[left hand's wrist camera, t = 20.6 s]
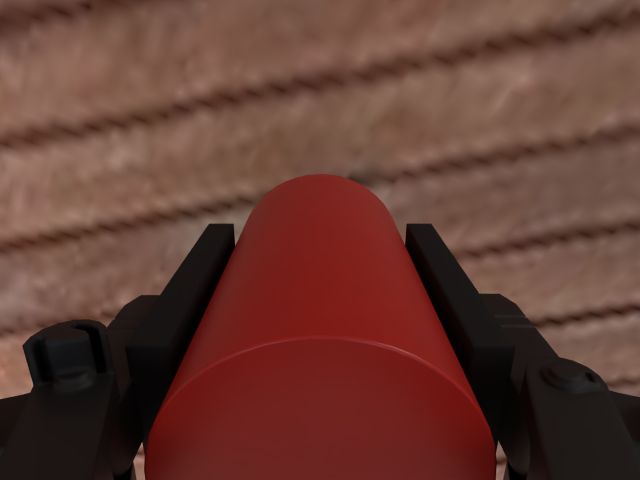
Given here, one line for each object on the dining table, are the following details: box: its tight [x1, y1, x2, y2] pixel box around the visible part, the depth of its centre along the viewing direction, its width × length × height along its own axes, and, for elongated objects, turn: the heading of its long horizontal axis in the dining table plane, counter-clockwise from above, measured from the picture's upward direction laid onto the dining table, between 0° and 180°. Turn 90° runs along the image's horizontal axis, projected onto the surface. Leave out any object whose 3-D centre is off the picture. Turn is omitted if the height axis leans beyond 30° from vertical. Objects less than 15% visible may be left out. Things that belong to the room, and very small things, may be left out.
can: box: [144, 174, 497, 480], centre depth 11 cm, size 5×5×9 cm
